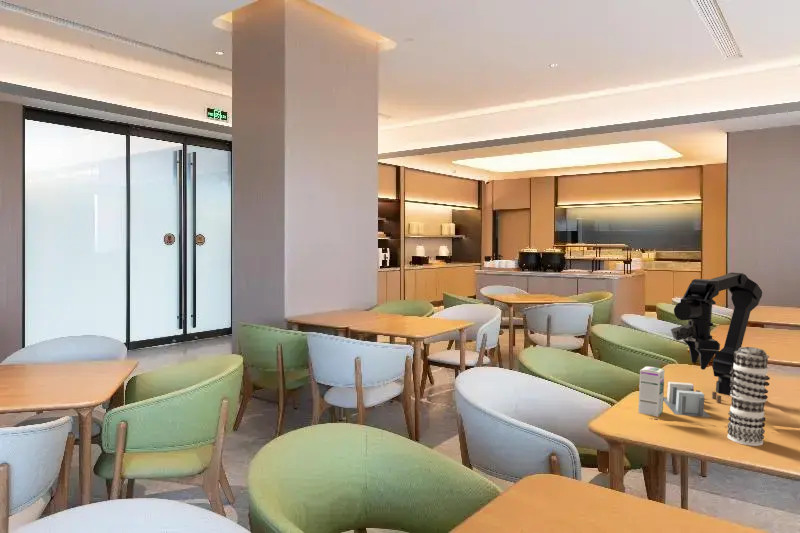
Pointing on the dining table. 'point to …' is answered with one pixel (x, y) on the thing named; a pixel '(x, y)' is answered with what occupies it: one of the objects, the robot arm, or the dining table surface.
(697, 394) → the white long rectangular block
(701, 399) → the rack
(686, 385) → the white rectangular block
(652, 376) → the syrup box
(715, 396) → the stand
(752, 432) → the decorative candle
